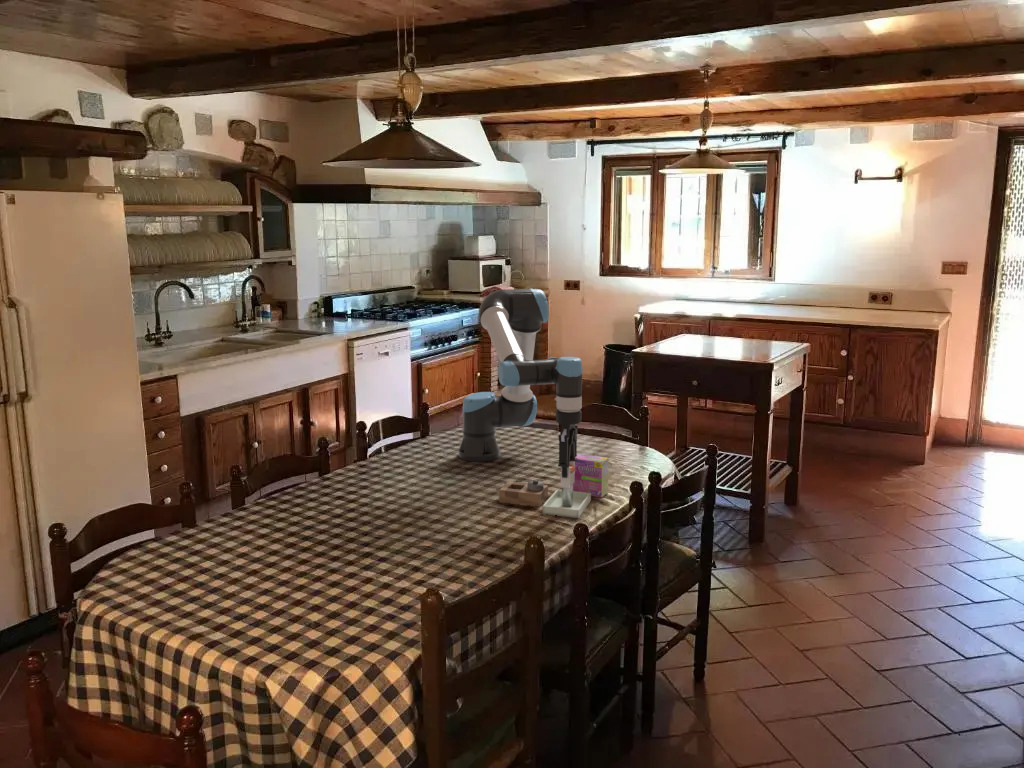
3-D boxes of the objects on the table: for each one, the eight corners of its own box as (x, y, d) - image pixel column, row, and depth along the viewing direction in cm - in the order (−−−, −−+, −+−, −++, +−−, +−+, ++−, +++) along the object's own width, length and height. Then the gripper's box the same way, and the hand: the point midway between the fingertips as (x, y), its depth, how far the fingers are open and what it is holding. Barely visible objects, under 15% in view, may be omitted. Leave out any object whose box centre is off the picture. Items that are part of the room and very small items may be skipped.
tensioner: (508, 493, 262) (508, 473, 260) (547, 497, 257) (548, 477, 256) (499, 502, 253) (499, 481, 252) (539, 507, 249) (539, 486, 248)
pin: (562, 501, 251) (562, 463, 249) (575, 503, 250) (576, 465, 248) (558, 506, 248) (559, 467, 245) (572, 507, 246) (572, 469, 244)
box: (571, 493, 262) (571, 457, 259) (578, 488, 267) (579, 453, 264) (601, 498, 257) (602, 462, 255) (608, 493, 262) (609, 457, 260)
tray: (556, 496, 258) (556, 489, 258) (590, 500, 255) (591, 493, 254) (542, 514, 243) (542, 506, 243) (578, 518, 240) (578, 510, 239)
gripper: (564, 402, 252) (563, 474, 257) (548, 415, 236) (547, 492, 241) (588, 404, 250) (586, 477, 255) (573, 417, 233) (572, 495, 238)
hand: (567, 484), depth 248 cm, fingers open, 5 cm apart
